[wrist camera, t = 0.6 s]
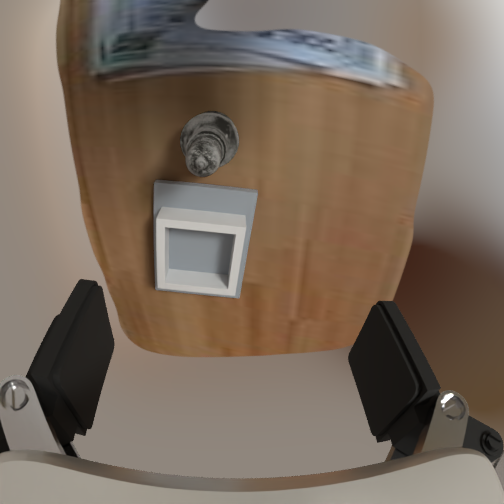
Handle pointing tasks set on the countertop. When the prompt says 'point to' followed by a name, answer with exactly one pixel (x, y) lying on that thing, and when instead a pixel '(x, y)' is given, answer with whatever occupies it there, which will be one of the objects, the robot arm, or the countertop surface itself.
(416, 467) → the robot arm
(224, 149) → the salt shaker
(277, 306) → the countertop surface
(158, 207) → the holder
